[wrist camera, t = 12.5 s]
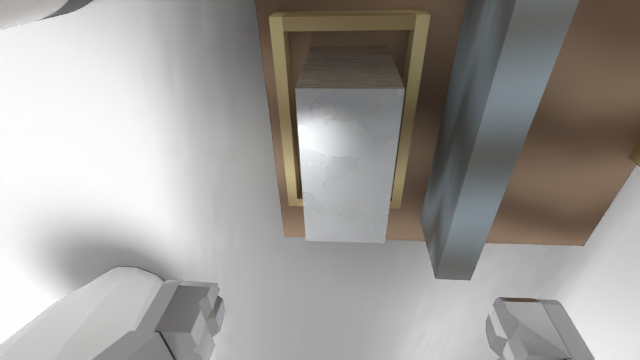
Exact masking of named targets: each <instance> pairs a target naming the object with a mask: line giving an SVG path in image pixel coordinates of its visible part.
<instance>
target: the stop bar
mask: <svg viewBox="0 0 640 360" xmlns="http://www.w3.org/2000/svg"><path fill="white" fill-rule="evenodd" d="M404 93H405V87H404V85H403V82H402V80H401V78H400V75H399V73H398V70H397V68H396V65H395V63H394V60H393V58H392V55H391V53H390V51H389V48H388V47H310V49H309V51H308V54H307V57H306V60H305V62H304V65H303V68H302V71H301V74H300V76H299V79H298V82H297V85H296V87H295V95H296V110H297V124H298V138H299V152H300V166H301V180H302V194H303V208H304V222H305V236H306V241H326V242H357V243H385V237H386V229H387V222H388V214H389V207H390V199H391V192H392V184H393V176H394V169H395V161H396V154H397V146H398V138H399V131H400V123H401V116H402V108H403V101H404Z"/></svg>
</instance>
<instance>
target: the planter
mask: <svg viewBox="0 0 640 360" xmlns="http://www.w3.org/2000/svg"><path fill="white" fill-rule="evenodd" d="M91 1H93V0H0V30H1V29H5V28H9V27H13V26H17V25H22V24H26V23H30V22H34V21H38V20H42V19H46V18H51V17H55V16H59V15H63V14H67V13H70V12H73V11H76V10H78V9H80V8H82V7H84V6H85V5H87V4H88V3H90V2H91Z"/></svg>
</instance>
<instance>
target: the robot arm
mask: <svg viewBox="0 0 640 360" xmlns="http://www.w3.org/2000/svg"><path fill="white" fill-rule="evenodd" d="M219 291H220V289H219V287H218V284H217V283H207V282H193V281H180V280H166V281H165V282H164V283H163V284H162V285H161V287H160V289H159V291H158V292H157V294H156V296H155V297H154V299H153V301H152V303H151V304H150V306H149V308H148V309H147V311H146V313H145V315H144V316H143V318H142V320H141V321H140V323H139V325H138V327H137V328H136V330H130V331H129V332H127V333H126V334H125V335H123V336H122V337H121V338H120V339H118V340H117V341H116V342H114V343H113V344H112V345H110V346H109V347H108V348H106V349H105V350H104V351H102V352H101V353H100V354H98V355H97V356H96V357H94V358H93V359H92V360H210V357H211V354H212V351H213V349H214V346H215V344H214V341H213V338H212V337H213V336H214V335H215V334H217V333H218V332H219V331H220V329H221V326H222V323H223V318H224V312H225V309H224V302H223V299H222V298H221V297H219V296H218V293H219ZM493 306H494V309H495V311H493V312H492V313H490V314H489V315H488V317H487V320H486V335H487V339H488V342H489V345H490V348H491V349H492V350H493V351H494V352H495V353H496V354H497V355H498V356H499V358H498V360H595V358H594V357H593V355H592V354H591V352H590V350H589V349H588V347H587V345H586V344H585V342H584V340H583V339H582V337H581V335H580V334H579V332H578V330H577V329H576V327H575V326H574V324H573V322H572V321H571V319H570V317H569V316H568V314H567V312H566V311H565V309H564V307H563V306H562V304H561V303H559V302H558V301H557V300H540V299H531V298H504V297H499V298H497V299H496V300H495V302H494V304H493Z"/></svg>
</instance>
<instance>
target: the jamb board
mask: <svg viewBox="0 0 640 360" xmlns="http://www.w3.org/2000/svg"><path fill="white" fill-rule="evenodd" d="M255 2H256V10H257V18H258V26H259V34H260V42H261V50H262V58H263V66H264V74H265V82H266V90H267V98H268V107H269V115H270V123H271V131H272V139H273V147H274V155H275V163H276V171H277V179H278V187H279V195H280V203H281V211H282V219H283V227H284V235H285V236H286V237H306V236H305V222H304V208H303V194H302V180H301V166H300V152H299V138H298V124H297V110H296V95H295V87H296V85H297V82H298V79H299V76H300V74H301V71H302V68H303V65H304V62H305V60H306V57H307V54H308V51H309V49H310V47H388V48H389V51H390V53H391V55H392V58H393V60H394V63H395V65H396V68H397V70H398V73H399V75H400V78H401V80H402V82H403V85H404V87H405V93H404V101H403V108H402V116H401V123H400V131H399V138H398V146H397V154H396V161H395V169H394V176H393V184H392V192H391V199H390V207H389V214H388V222H387V229H386V237H385V240H414V241H426V245H427V248H428V252H429V256H430V260H431V263H432V267H433V271H434V275H435V278H436V279H452V280H471V277H472V275H473V272H474V270H475V267H476V264H477V262H478V259H479V257H480V254H481V252H482V249H483V246H484V244H485V243H510V244H542V245H574V246H584V245H585V243H586V242H587V240H588V238H589V237H590V235H591V234H592V232H593V231H594V229H595V228H596V226H597V225H598V223H599V222H600V220H601V218H602V217H603V215H604V214H605V212H606V211H607V209H608V208H609V206H610V205H611V203H612V202H613V200H614V198H615V197H616V195H617V194H618V192H619V191H620V189H621V188H622V186H623V185H624V183H625V181H626V180H627V178H628V177H629V175H630V174H631V172H632V171H633V169H634V168H635V166H636V165H638V166H639V167H640V0H255Z"/></svg>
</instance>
